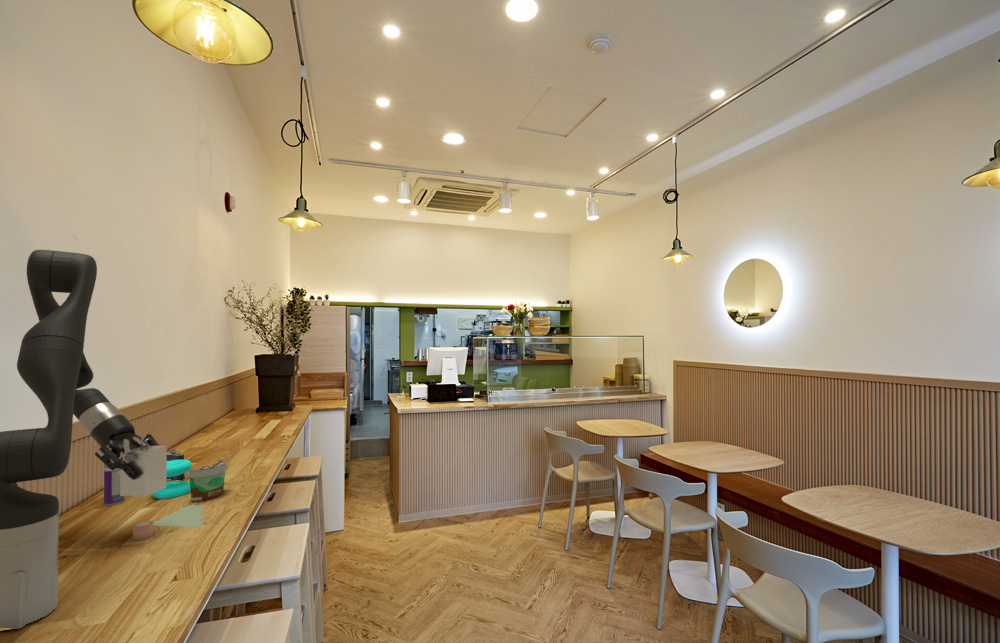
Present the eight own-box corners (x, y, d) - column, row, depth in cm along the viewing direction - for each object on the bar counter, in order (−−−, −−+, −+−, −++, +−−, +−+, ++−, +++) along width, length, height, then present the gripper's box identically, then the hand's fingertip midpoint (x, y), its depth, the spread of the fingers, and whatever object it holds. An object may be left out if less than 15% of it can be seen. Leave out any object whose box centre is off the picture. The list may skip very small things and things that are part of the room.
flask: (158, 480, 158) (158, 448, 159) (166, 477, 161) (166, 446, 162) (179, 481, 156) (180, 450, 157) (187, 479, 159) (187, 448, 159)
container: (100, 504, 136) (101, 453, 136) (119, 499, 140) (119, 450, 141) (108, 506, 134) (108, 455, 134) (127, 501, 138) (127, 451, 138)
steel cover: (144, 496, 109) (145, 447, 110) (120, 495, 110) (120, 447, 110) (166, 487, 116) (166, 441, 116) (143, 487, 116) (143, 440, 117)
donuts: (199, 459, 148) (172, 468, 138) (199, 490, 148) (172, 501, 138) (173, 457, 150) (144, 466, 140) (173, 488, 149) (144, 499, 139)
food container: (204, 506, 133) (205, 471, 134) (187, 504, 135) (187, 470, 135) (237, 491, 146) (237, 460, 146) (220, 490, 147) (220, 459, 147)
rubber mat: (198, 528, 118) (198, 526, 118) (147, 527, 119) (147, 525, 119) (234, 507, 132) (234, 506, 132) (188, 506, 133) (188, 505, 133)
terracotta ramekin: (147, 541, 111) (147, 526, 111) (129, 542, 110) (129, 527, 111) (155, 534, 115) (156, 520, 115) (139, 535, 114) (139, 521, 114)
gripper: (88, 419, 107) (134, 470, 106) (141, 409, 121) (183, 454, 120) (67, 442, 107) (113, 493, 106) (123, 429, 122) (164, 474, 120)
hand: (150, 472), depth 113 cm, fingers closed on steel cover, 6 cm apart
